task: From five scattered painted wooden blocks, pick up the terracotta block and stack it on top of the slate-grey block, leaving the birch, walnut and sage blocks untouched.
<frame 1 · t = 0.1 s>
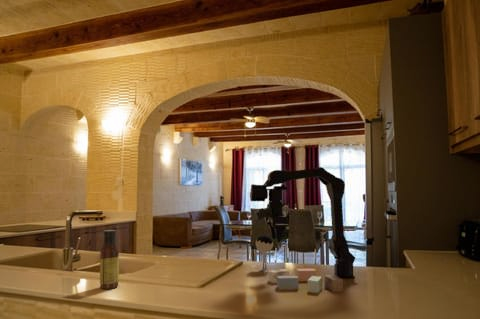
hand: (276, 240, 139), 15 cm above the counter, fingers open, 9 cm apart
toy: (264, 269, 153), on the counter
sage block: (315, 290, 121), on the counter
walnut block: (333, 289, 122), on the counter
sauce bottle: (108, 288, 122), on the counter
birch block: (278, 281, 132), on the counter
terracotta block: (306, 280, 134), on the counter
slate block: (287, 288, 123), on the counter
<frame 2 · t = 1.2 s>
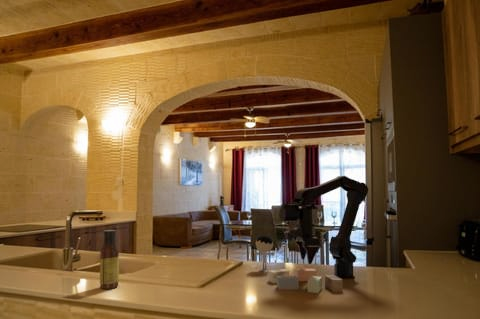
hand: (306, 261, 135), 7 cm above the counter, fingers open, 9 cm apart
nothing on the counter moved.
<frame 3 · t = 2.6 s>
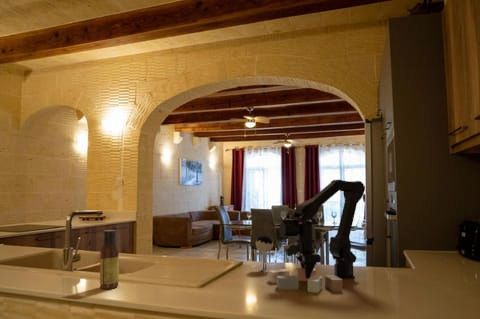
hand: (306, 277, 135), 1 cm above the counter, fingers closed on terracotta block, 4 cm apart
terracotta block: (306, 279, 134), on the counter, touching gripper
everything else where it was.
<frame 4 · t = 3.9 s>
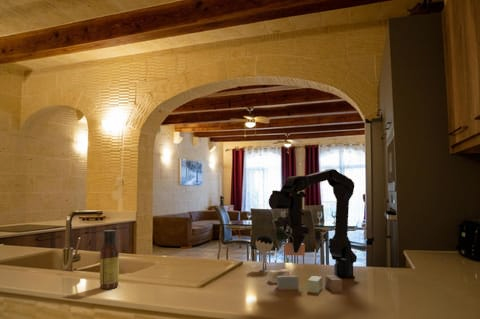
hand: (294, 251, 129), 12 cm above the counter, fingers closed on terracotta block, 4 cm apart
terracotta block: (294, 254, 129), point 11 cm above the counter, touching gripper
everything else where it was.
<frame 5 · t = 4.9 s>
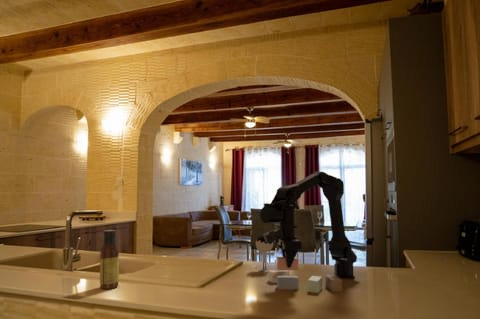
hand: (287, 266, 123), 7 cm above the counter, fingers closed on terracotta block, 4 cm apart
terracotta block: (287, 269, 123), point 6 cm above the counter, touching gripper
everything else where it was.
when the fingers open (6 cm above the counter, at t = 5.4 s): terracotta block drops 1 cm, resting on slate block.
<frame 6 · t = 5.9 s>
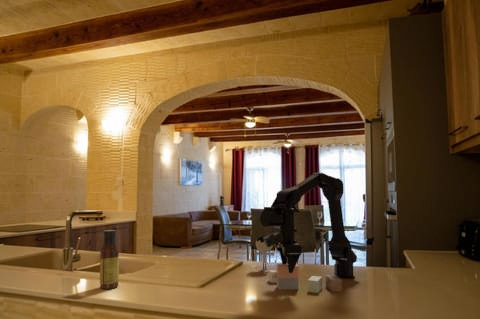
hand: (287, 270, 123), 6 cm above the counter, fingers open, 9 cm apart
terracotta block: (287, 276, 123), point 4 cm above the counter, touching slate block
slate block: (287, 288, 123), on the counter, touching terracotta block
everything else where it was.
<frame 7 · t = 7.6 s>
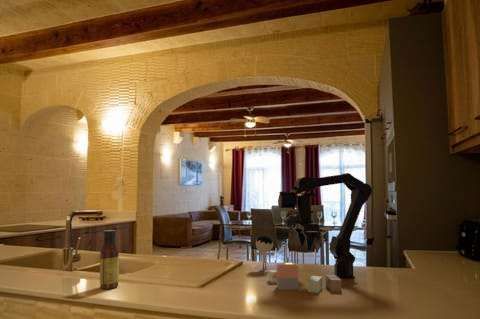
hand: (305, 247, 139), 12 cm above the counter, fingers open, 9 cm apart
nothing on the counter moved.
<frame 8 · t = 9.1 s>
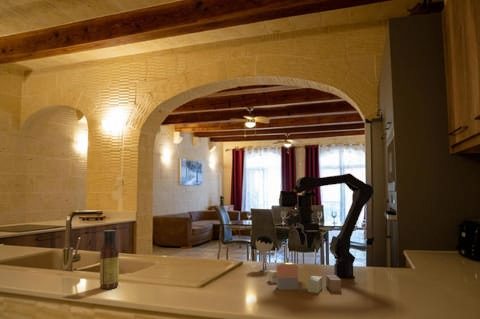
hand: (305, 246, 140), 12 cm above the counter, fingers open, 9 cm apart
nothing on the counter moved.
at the end: terracotta block 0.0 cm off-centre on the slate block, point 4.0 cm above the slate block's base; slate block moved 0.2 cm from its start; sage block moved 0.2 cm from its start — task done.
